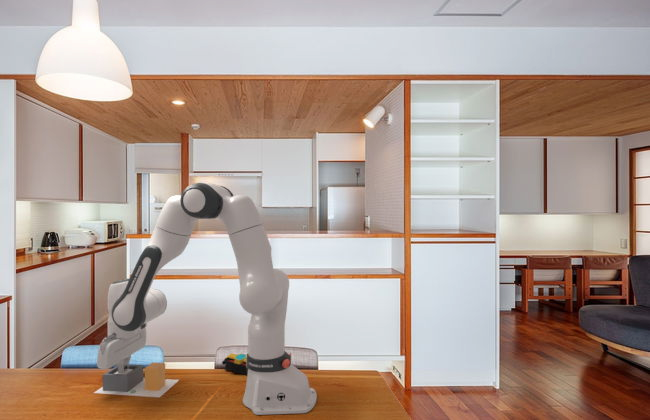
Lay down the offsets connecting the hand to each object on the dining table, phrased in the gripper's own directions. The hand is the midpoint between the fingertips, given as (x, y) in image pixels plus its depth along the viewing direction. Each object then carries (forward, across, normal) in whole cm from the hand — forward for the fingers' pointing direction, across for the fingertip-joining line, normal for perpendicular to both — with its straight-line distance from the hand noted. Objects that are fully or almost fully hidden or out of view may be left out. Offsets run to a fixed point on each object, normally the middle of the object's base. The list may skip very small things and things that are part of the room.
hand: (123, 371), depth 127 cm
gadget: (+6, +17, -34) cm, 39 cm away
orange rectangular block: (+4, 0, -11) cm, 12 cm away
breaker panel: (+6, 0, -5) cm, 8 cm away
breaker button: (+4, 0, 0) cm, 4 cm away
